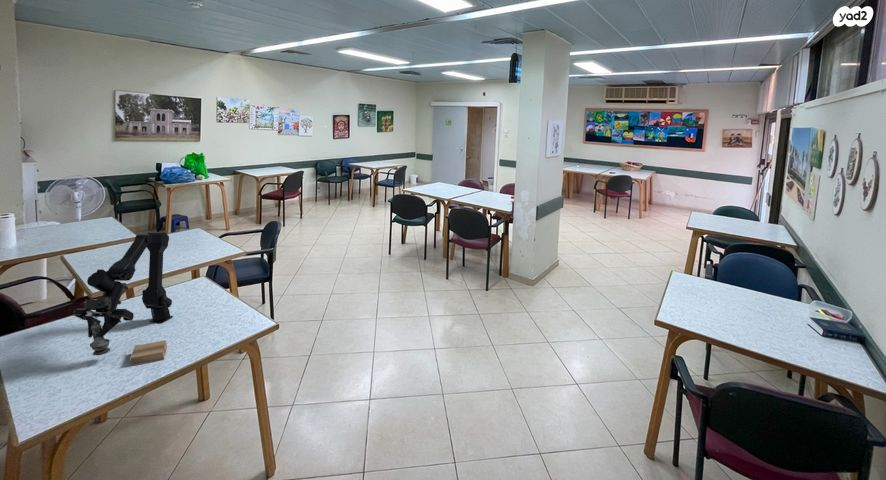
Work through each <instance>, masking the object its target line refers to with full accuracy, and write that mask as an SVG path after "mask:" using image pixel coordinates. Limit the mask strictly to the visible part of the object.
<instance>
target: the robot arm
mask: <svg viewBox="0 0 886 480" xmlns="http://www.w3.org/2000/svg"><path fill="white" fill-rule="evenodd" d="M169 241H170V236H169V234H167V232H165V231H148V232H147V233H139V234H136V235H135V238H134V241H132V243H131V245H130V246H129V248H128V249H127V250H126V251H125V253H124V255H123V257H121V258H120V259H119V260H117V261H116V262H114V263H113V264H112V265H111V266H110V267H109V268H108V270H104V269H99V268H98V269H97V271H96V272H94V273H92V274H90V276H88V277H87V282H86V283H87V284H88V286H90V287H91V288H93V289H95V290H97V291H99V292H101V293H102V295H100V296H98V297H96V299H90V298H89V299H85V302H84V308H83V307H82V308H76V309H75V310H74V311H73V314H72V316H74V317H76V318H78V319H80V320H84V321H86V322H87V335H88V336H87V337H88V338H92V337H93V336H92V329H91V326H92V325H94V322H96V324H100V325H101V323H102V321H101V320H99V318H101V317H102V318H103V320H104V322H103V325H102V326H101V328H102V329H101V332H100V336H99V337H100V338H102V337H103V336H104V337H105V336H106V335H107V334H108V333H109V332H110V331H111V330H112V329H113V328H114V327H116V326H117V325H118V324H120V323H122V320H121V319H123V320H124V321H128V322H129V321H130V322H132V321H133V320H134V317H135V316H134V315H135V314H134V312H133V311H131V310H129V309H126V308H118V305H121V304H122V301H121V298H122V295H123V292H124V291H127V290H129V287H128V286H127V283H126V281H127V282H128V281H131V280H132V278H133V277H134V275H135V272H136V264H137V262H138V261H139V259H140V258H141V256H142V254H143V253H144V251H145V250H146V249H147V250H148V252H149V263H148V283H147V284H148V285H147V286H146V288H145V289H143V290H142V291H141V292H142V295H141V296H142V297H141V300H142V303H143V305H144V307H145V308H146V309H150V312H151V313H150V314H151V317H152V318H151V319H150V320H149V322H150V323H157V324H162V323H165V322H167V321H168V320H170V319H172V318H173V317H174V316H173V315H171V313H170V309H169V308H171V306H172V304H173V300H172V299H171V298H170V297H168V296H167V290H166V289H165V287H164V286H163V273H164V272H163V270H164V269H163V268H164V265H163V263H164V252H165V250H166V249H167V248H168V246H169ZM121 281H122V282H121ZM123 281H124V282H123ZM89 308H90V309H89Z"/></svg>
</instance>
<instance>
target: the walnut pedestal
mask: <svg viewBox="0 0 886 480" xmlns="http://www.w3.org/2000/svg"><path fill="white" fill-rule="evenodd" d="M167 348H168V345H167V340H166V339H165V340H160V341H153V342H149V343H143V344H138V345H134V347H133V350H132V353H131V355H130V357H129V358H130V364H131V366H138V365H143V364H147V363H152V362H153V363H154V362H159V361H163V360H165V356H166V353H167Z"/></svg>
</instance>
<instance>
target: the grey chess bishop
mask: <svg viewBox="0 0 886 480" xmlns="http://www.w3.org/2000/svg"><path fill="white" fill-rule="evenodd" d="M91 329H92V337H93V338H92V339H93V341H92V342H91V343H90V344H89V347H90V348H91V349H92V350H93V352H92V355H93V356H102V355H106V354H107V353H110V351H112V348H110V347H109V346H110V341H111V340H110V339H109V338H108V339H107V338H105V335H104V336H103V337H102V338H100V337H99V336H100V332H101V329H102V325H101V323H100V324H96V322H94V325H92V326H91Z"/></svg>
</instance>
